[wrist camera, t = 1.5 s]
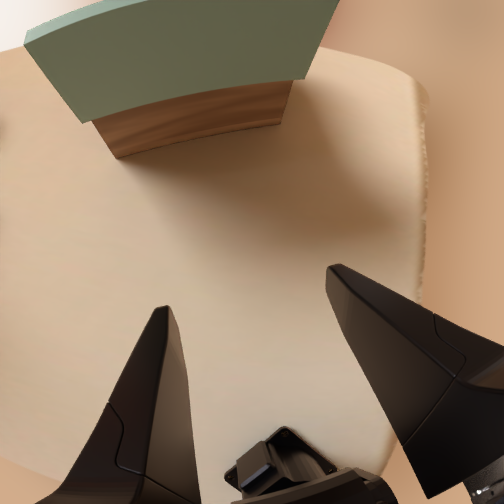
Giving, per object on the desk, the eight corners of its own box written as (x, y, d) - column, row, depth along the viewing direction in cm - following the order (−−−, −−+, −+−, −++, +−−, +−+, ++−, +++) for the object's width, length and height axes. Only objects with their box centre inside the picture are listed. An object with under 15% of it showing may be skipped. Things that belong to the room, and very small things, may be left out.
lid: (299, 68, 18) (304, 79, 18) (82, 111, 17) (82, 123, 17) (336, -23, 10) (344, -11, 10) (27, 31, 8) (23, 44, 8)
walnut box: (280, 124, 25) (296, 70, 19) (115, 158, 24) (85, 111, 17) (256, 60, 27) (264, 6, 20) (112, 89, 25) (91, 39, 18)
